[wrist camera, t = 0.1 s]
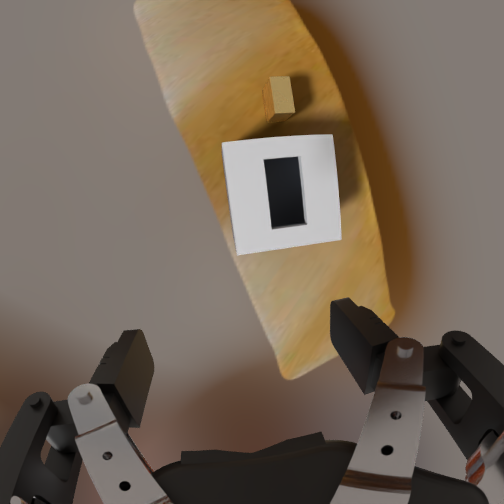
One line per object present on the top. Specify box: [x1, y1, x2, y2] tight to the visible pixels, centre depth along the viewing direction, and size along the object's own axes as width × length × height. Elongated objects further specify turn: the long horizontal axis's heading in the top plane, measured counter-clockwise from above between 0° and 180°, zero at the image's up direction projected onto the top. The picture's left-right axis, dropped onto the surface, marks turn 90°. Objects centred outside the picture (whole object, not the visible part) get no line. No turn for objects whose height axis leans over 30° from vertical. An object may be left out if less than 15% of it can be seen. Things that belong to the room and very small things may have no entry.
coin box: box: [222, 134, 341, 255], centre depth 33 cm, size 12×12×10 cm
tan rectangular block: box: [262, 76, 295, 123], centre depth 32 cm, size 5×2×6 cm, turn 7°
